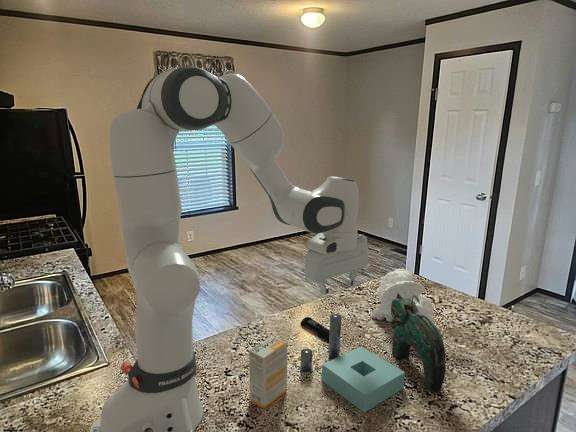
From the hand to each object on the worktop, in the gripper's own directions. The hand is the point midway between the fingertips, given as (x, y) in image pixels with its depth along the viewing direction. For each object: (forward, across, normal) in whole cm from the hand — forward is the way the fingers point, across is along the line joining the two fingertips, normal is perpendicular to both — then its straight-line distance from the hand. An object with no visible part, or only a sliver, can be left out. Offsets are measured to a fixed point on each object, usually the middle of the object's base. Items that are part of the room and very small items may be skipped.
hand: (337, 289), depth 103 cm
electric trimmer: (+20, -5, -12) cm, 24 cm away
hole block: (+20, +3, +13) cm, 24 cm away
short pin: (+20, +10, 0) cm, 22 cm away
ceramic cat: (+20, -13, +17) cm, 29 cm away
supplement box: (+20, +24, +3) cm, 31 cm away
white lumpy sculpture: (+20, -33, -3) cm, 39 cm away
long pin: (+20, 0, 0) cm, 20 cm away
